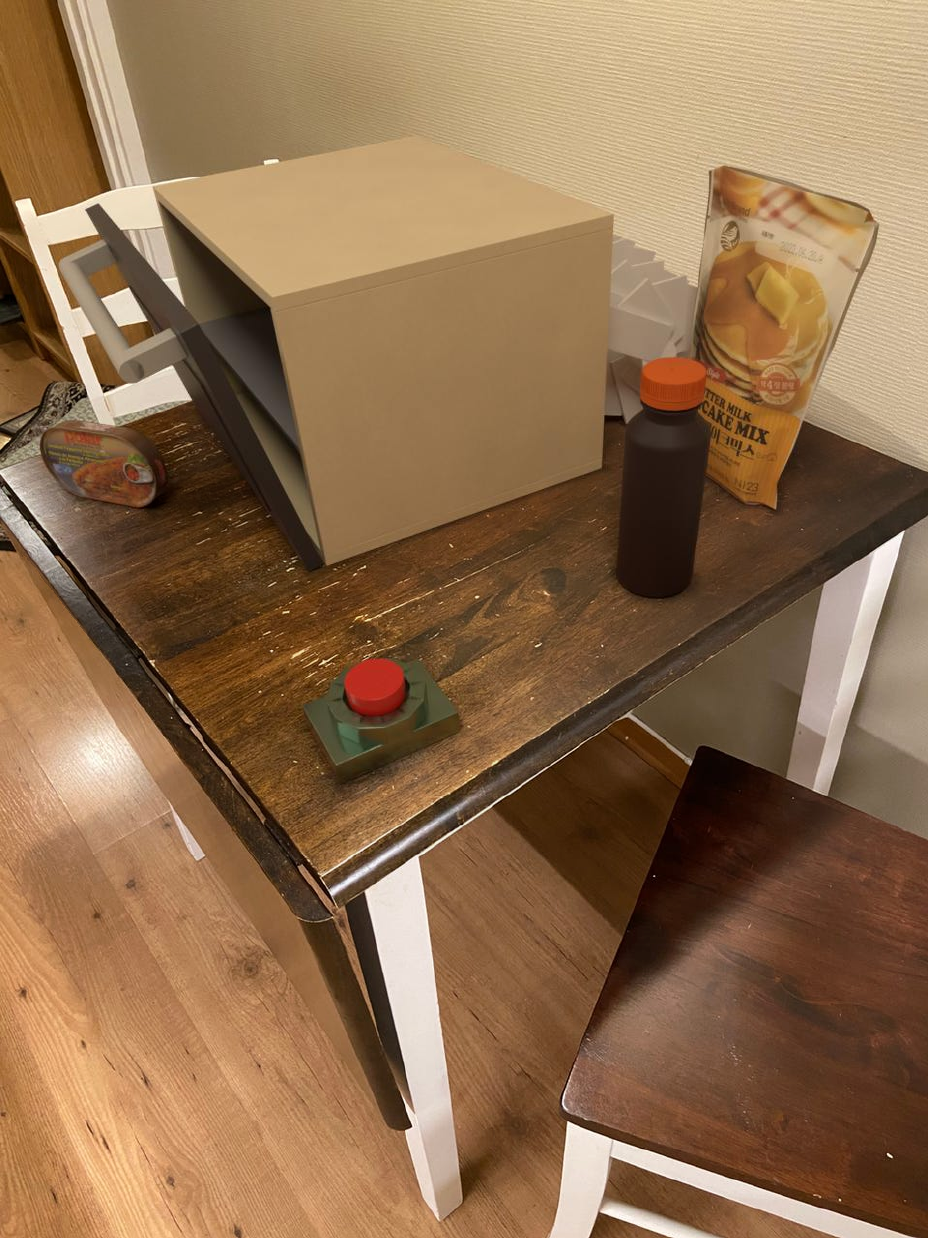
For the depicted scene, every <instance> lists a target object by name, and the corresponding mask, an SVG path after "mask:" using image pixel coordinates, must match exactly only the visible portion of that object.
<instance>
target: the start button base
mask: <svg viewBox="0 0 928 1238" xmlns="http://www.w3.org/2000/svg"><path fill="white" fill-rule="evenodd" d="M369 659H370V658H367V659H365V660H361V661H359V662H357V663H354V664H352V665H349V666H347V667H345V668H344V669H343V670H342V671H341V672H340V673H339V674H338V675H337V676H336V677H335V678H334V679H333V680H332V682H330V683H329V687H328V692H327V694H326V695H323V696H321V697H318V698H316V699H314V700H311V701H309V702H306V703H304V704H302V705H301V707H302V711H303V715H304V719H305V723H306V726H307V727H308V729H309V731H310V733H311V735H312V737H313V738H314V740H315V742H316V744H317V745H318V747H319V749H320V751H321V753H322V754H323V757H324V758H325V760H326V762H327V764H328V765H329V767H330V769H331V770H332V772H333V774H334V776H335V778H336V780H337V782H338V783H339V785H343V784H345V783H347V782H350V781H352V780H354V779H356V778H358V777H361V776H363V775H365V774H367V773H369V772H370V773H371V772H372V771H374V770H376V769H378V768H381V767H383V766H385V765H388V764H390V763H392V762H395V761H396V760H399V759H401V758H404V757H405V756H408V755H410V754H412V753H415V752H417V751H419V750H422V749H424V748H425V747H428V746H430V745H433V744H435V743H437V742H439V741H442V740H444V739H446V738H448V737H451V736H453V735H455V734H457V733H460V732H461V723H460V713H459V710H458V708H456V706H455V705H454V703H453V702H452V701H451V699H450V698H449V696H448V695H446V693H445V692H444V690H443V689H442V688H441V686H440V685H439V684H438V682H437V681H436V680H435V678H434V677H433V675H432V674H431V673H430V672H429V670H428V668H426V666H425V665H424V664H423V663H422V661H421V660H420V658H419V657H418V658H417V657H416V658H415V659H412V660H410V661H409V660H408V661H407V662H404V661H403V660H399V659H397V658H394V657H381V658H379V657H376V658H373V659H387V660H390V661H393V662H394V663H396V664H397V665H399V666H400V668H401V669H402V671H403V673H404V680H405V686H406V697H405V699H404V701H403V703H402V704H401V705H400V706H399V707H398V708H397V709H396V710H394V711H392V712H390V713H388V714H385V715H381V716H365V715H362V714H359V713H357V712H356V711H354V710H353V709H352V708H351V707H350V705H349V703H348V699H347V694H346V690H345V684H344V682H345V677H346V675H347V673H348V672H349V671H350V669H351V668H353V667H354V666H355V665H357V664H358V663H360V662H363V661H366V660H369Z"/></svg>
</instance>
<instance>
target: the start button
mask: <svg viewBox="0 0 928 1238" xmlns="http://www.w3.org/2000/svg"><path fill="white" fill-rule="evenodd" d="M368 659H369V660H367V659H365V660H366V661H364V660H362V661H363V662H362V661H359V662H360V663H359V662H357V663H358V664H357V663H356V664H357V665H355V666H354V667H353V668H351V669H350V671H349V672H348V673H347V675H346V677H345V682H344V684H345V690H346V694H347V699H348V703H349V705H350V707H351V708H352V709H353V710H354V711H356V712H357V713H359V714H362V715H365V716H381V715H385V714H388V713H390V712H392V711H394V710H396V709H397V708H398V707H399V706H400V705H401V704H402V703H403V701H404V699H405V697H406V686H405V680H404V673H403V671H402V669H401V668H400V666H399V665H397V664H396V663H394V662H393V661H390V660H387V659H374V658H368Z"/></svg>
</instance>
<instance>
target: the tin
mask: <svg viewBox="0 0 928 1238" xmlns="http://www.w3.org/2000/svg"><path fill="white" fill-rule="evenodd" d="M39 452H40V455H41V459H42V461H43V463H44V466H45V467H46V469H47V470H48V472H49V474H50V475H51V476H52V478H53V479H54V480H55V481H56V482H57V483H58V484H59V485H60V486H61V487H62V488H63V489H65V490H66V491H67V492H69V493H71V494H73V495H75V496H77V497H79V498H84V499H89V500H94V501H99V502H100V501H101V502H106V503H111V504H116V505H121V506H127V507H130V508H131V507H133V508H143V507H146V506H148V505H150V504H151V503H152V502H153V501H154V500H155V499H156V498H157V497H159V496H160V495H161V494H163V492H164V491H165V490H166V488H167V486H168V482H169V481H168V480H169V478H168V471H167V470H168V469H167V467H166V463H165V460H164V458H163V456H162V453H161V452H160V449H159V448H158V447H157V446H156V444H155V443H154V442H153V441H152V440H151V439H149V437H147V436H146V435H145V434H143V433H141V432H140V431H138V430H136V429H134V428H130V427H126V426H120V425H112V424H104V423H98V422H93V421H92V422H91V421H85V420H78V419H66V420H64V421H61V422H60V423H58V424H55V425H54V426H52V427H48V428H47V429H46V430H44V431H43V432H42V434H41V435H40V439H39Z"/></svg>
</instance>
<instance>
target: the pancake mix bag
mask: <svg viewBox="0 0 928 1238" xmlns="http://www.w3.org/2000/svg"><path fill="white" fill-rule="evenodd" d="M870 210H871V209H869V208H867V207H866V206H864V205H862V204H860V203H858V202H855V201H853V200H848V199H844V198H840V197H838V196H834V195H830V194H827V193H822V192H819V191H814V190H813V189H809V188H807V187H804V186H801V185H799V184H796V183H794V182H791V181H788V180H785V179H781V178H778V177H774V176H770V175H767V174H762V173H758V172H755V171H751V170H748V169H742V168H740V167H739V168H738V167H733V166H728V165H721V166H719V167H716V168H714V169H711V170H708V195H707V205H706V212H705V213H706V214H705V219H704V229H703V241H702V249H701V256H700V262H699V267H698V268H699V269H698V277H697V281H698V282H697V287H698V288H697V294H696V299H695V306H694V313H693V333H692V344H691V360H694V361H696V362H698V363H700V364H702V365H703V366H704V368H705V369H706V370H707V376H706V384H705V393H704V399H703V401H702V402H703V403H702V405H701V407H700V408H699V409H698V413H699V414H700V415H701V416H702V417H703V418H704V419H705V420H706V421H707V423H708V424H709V425H710V429H711V441H710V449H709V456H708V463H707V470H706V476H707V478H709V479H710V480H712V481H713V482H714V483H716V484H718V485H719V486H720V487H721V488H723V489H724V490H725V491H726V492H727V493H728V494H730V495H731V496H733V497H734V498H736V499H737V500H738V501H740V502H742V503H744V504H745V505H764V506H766V507H769V508H771V509H774V510H777V505H778V504H777V503H778V498H779V493H778V483H779V480H780V478H781V476H782V473H783V471H784V468H785V466H786V464H787V462H788V459H789V457H790V455H791V454H792V451H793V449H794V447H795V444H796V441H797V439H798V436H799V433H800V430H801V428H802V424H803V421H804V419H805V416H806V414H807V412H808V409H809V407H810V404H811V403H812V399H813V397H814V394H815V392H816V390H817V387H818V385H819V383H820V381H821V379H822V376H823V373H824V370H825V367H826V365H827V361H828V360H829V358H830V356H831V354H832V352H833V350H834V348H835V347H836V343H837V341H838V338H839V335H840V332H841V329H842V327H843V324H844V321H845V318H846V316H847V313H848V310H849V309H850V305H851V303H852V300H853V297H854V295H855V293H856V291H857V288H858V287H859V285H860V281H861V279H862V277H863V275H864V273H865V271H866V269H867V267H868V265H869V264H870V261H871V258H872V255H873V253H874V250H875V247H876V244H877V240H878V234H879V229H880V223H879V222H878V221H877V220H875V219H874V217H873V215H872V213H871V211H870Z"/></svg>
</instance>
